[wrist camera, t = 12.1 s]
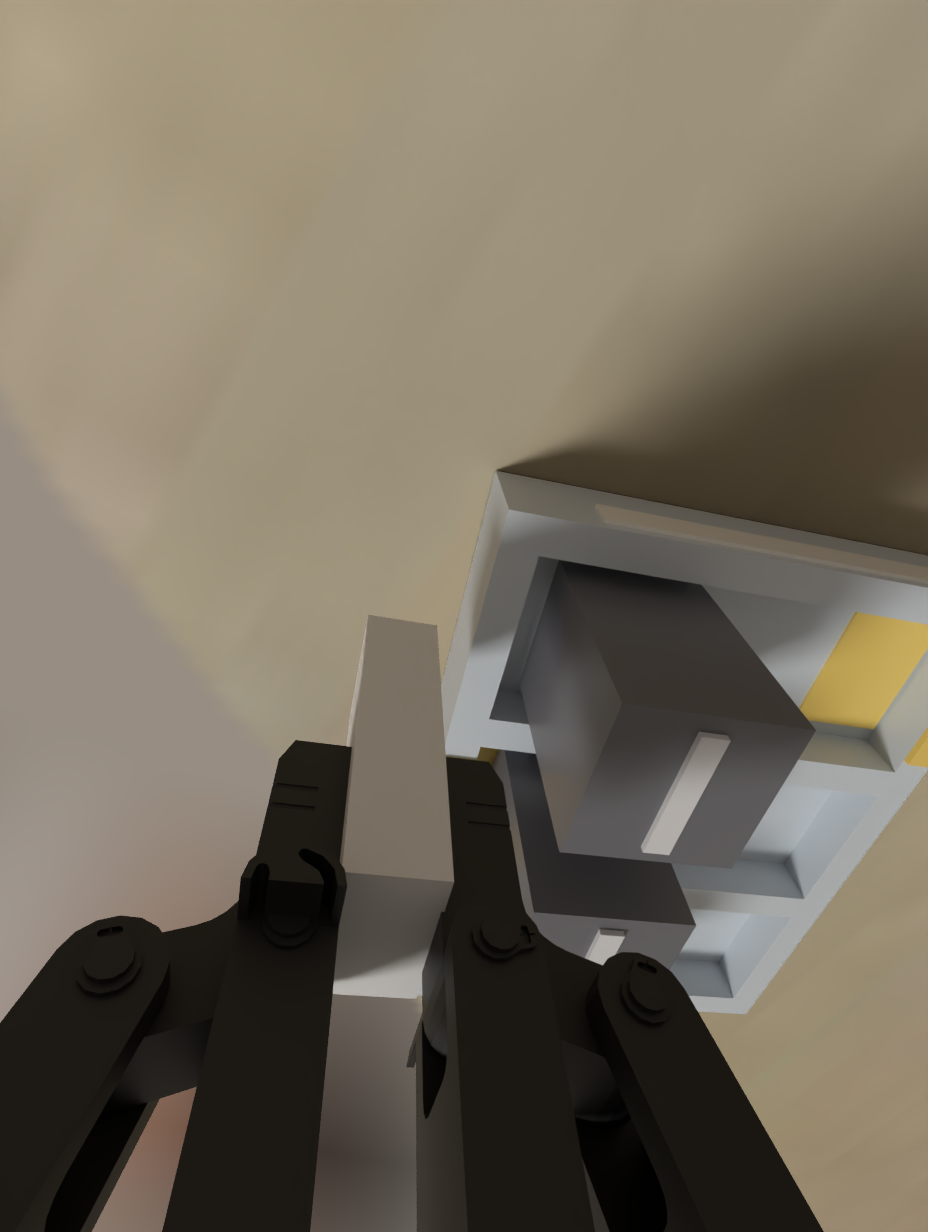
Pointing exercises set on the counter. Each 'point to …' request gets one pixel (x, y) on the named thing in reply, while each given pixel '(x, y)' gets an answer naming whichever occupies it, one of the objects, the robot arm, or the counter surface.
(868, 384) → the counter surface
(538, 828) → the tab mid
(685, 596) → the dark grey rectangular block
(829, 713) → the switch bank
